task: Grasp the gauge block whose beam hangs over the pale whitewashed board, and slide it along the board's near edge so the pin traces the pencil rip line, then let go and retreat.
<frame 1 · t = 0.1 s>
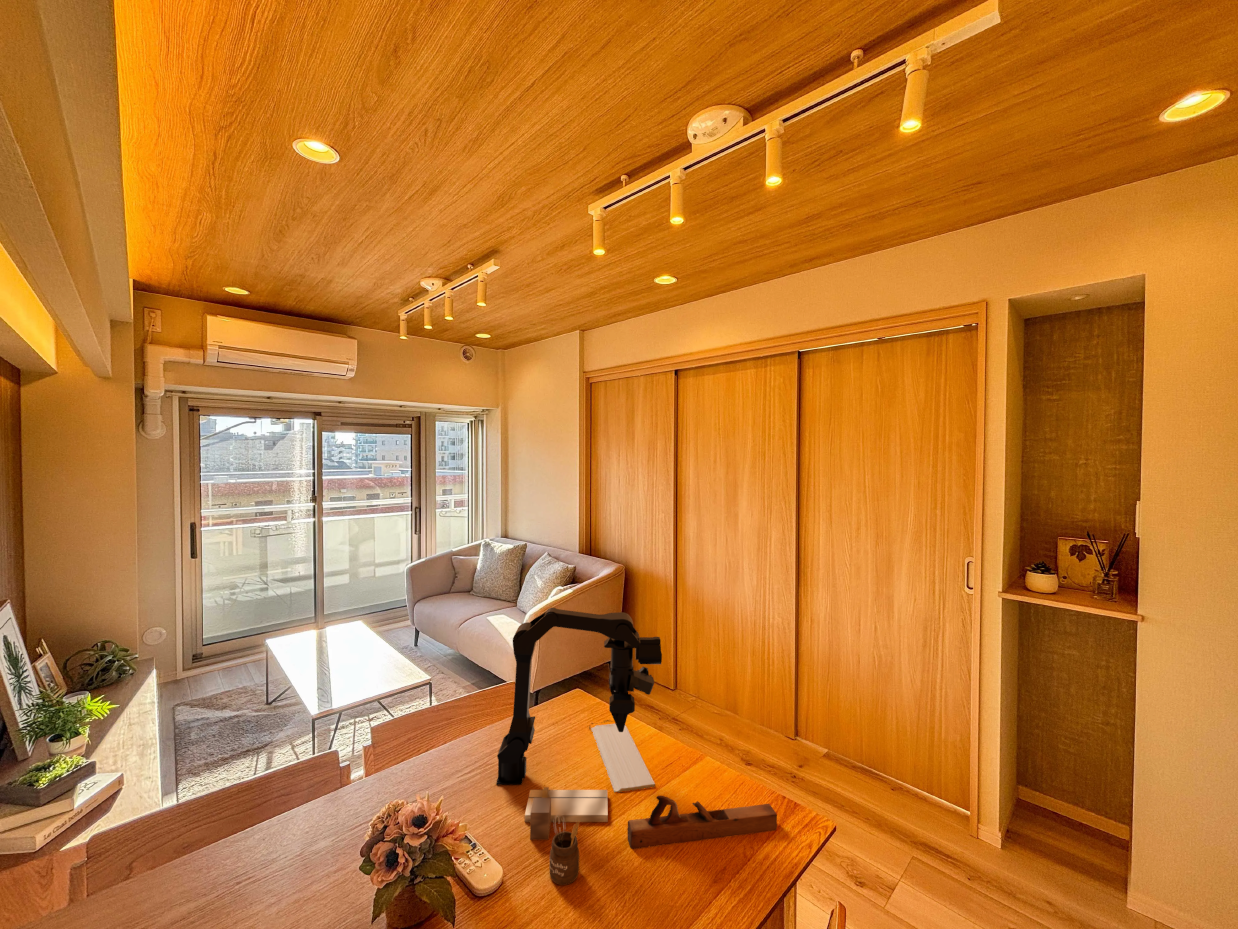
hand: (620, 722, 136), 15 cm above the table, fingers open, 9 cm apart
utensil holder: (564, 875, 105), on the table
baseboard molding: (617, 758, 147), on the table
board: (567, 808, 124), on the table
hand plane: (702, 836, 117), on the table
gauge: (540, 831, 117), on the table
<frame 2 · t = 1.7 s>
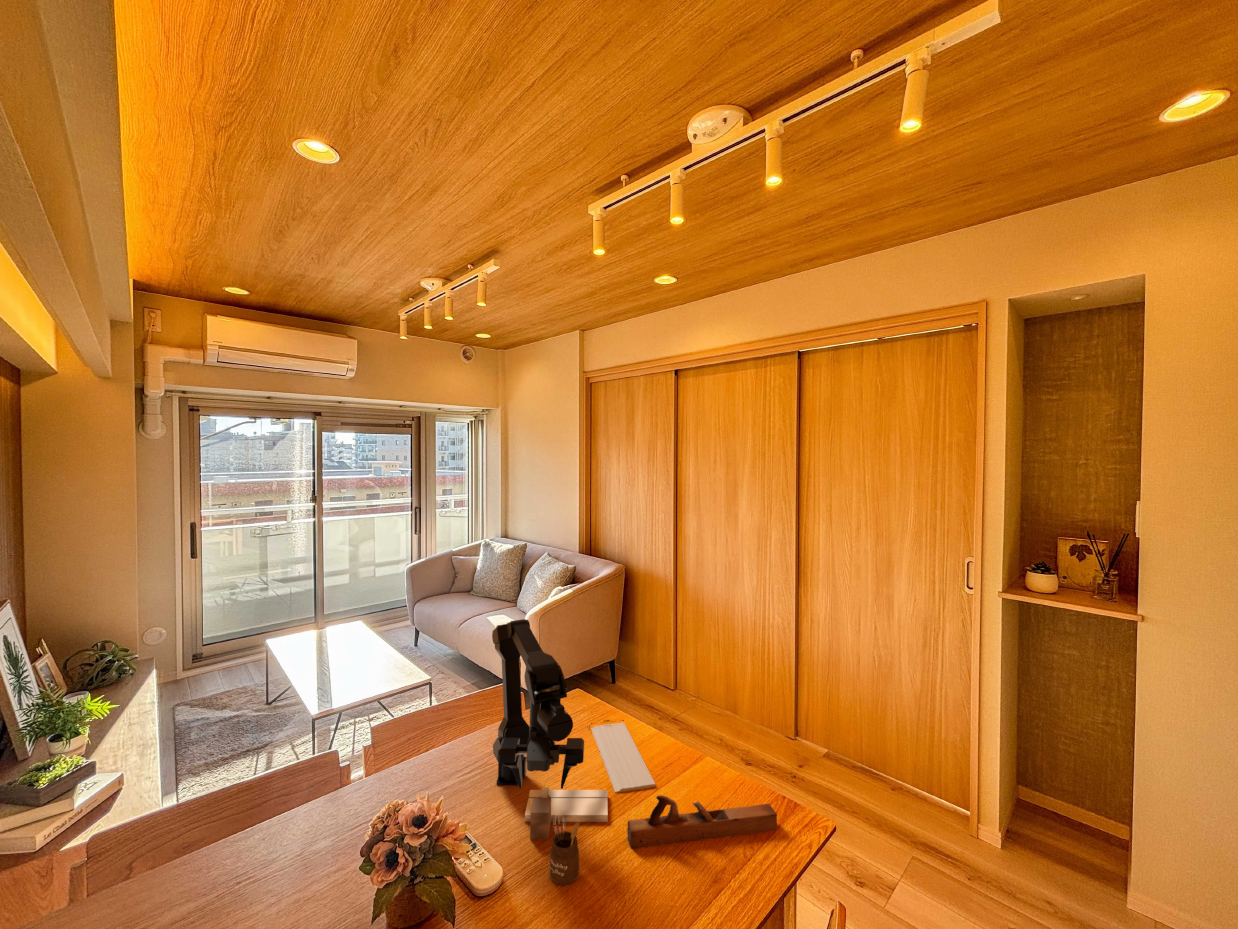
hand: (541, 787, 116), 10 cm above the table, fingers open, 9 cm apart
nothing on the table moved.
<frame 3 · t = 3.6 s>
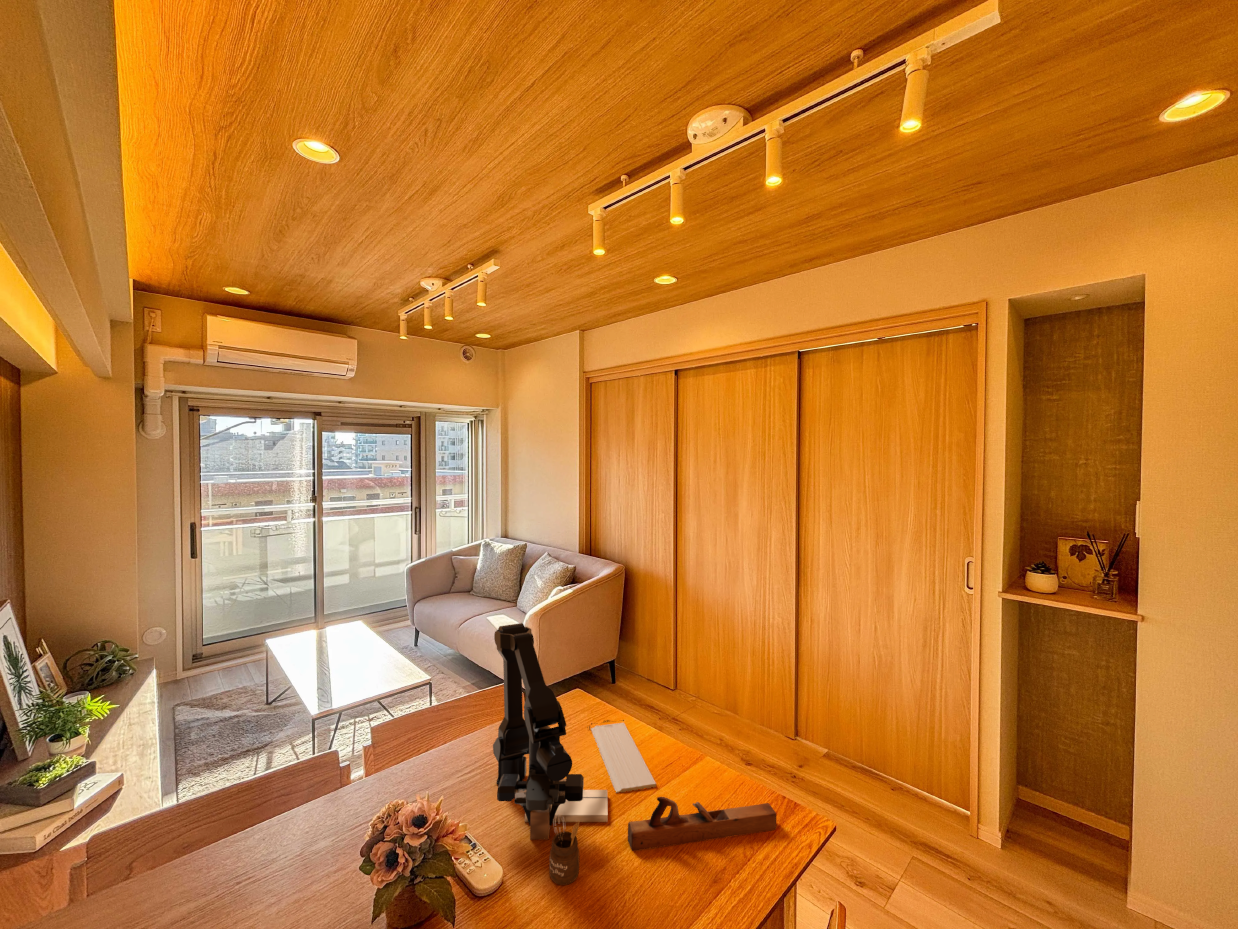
hand: (540, 824, 117), 2 cm above the table, fingers closed on gauge, 4 cm apart
gauge: (540, 831, 117), on the table, touching gripper
everything else where it was.
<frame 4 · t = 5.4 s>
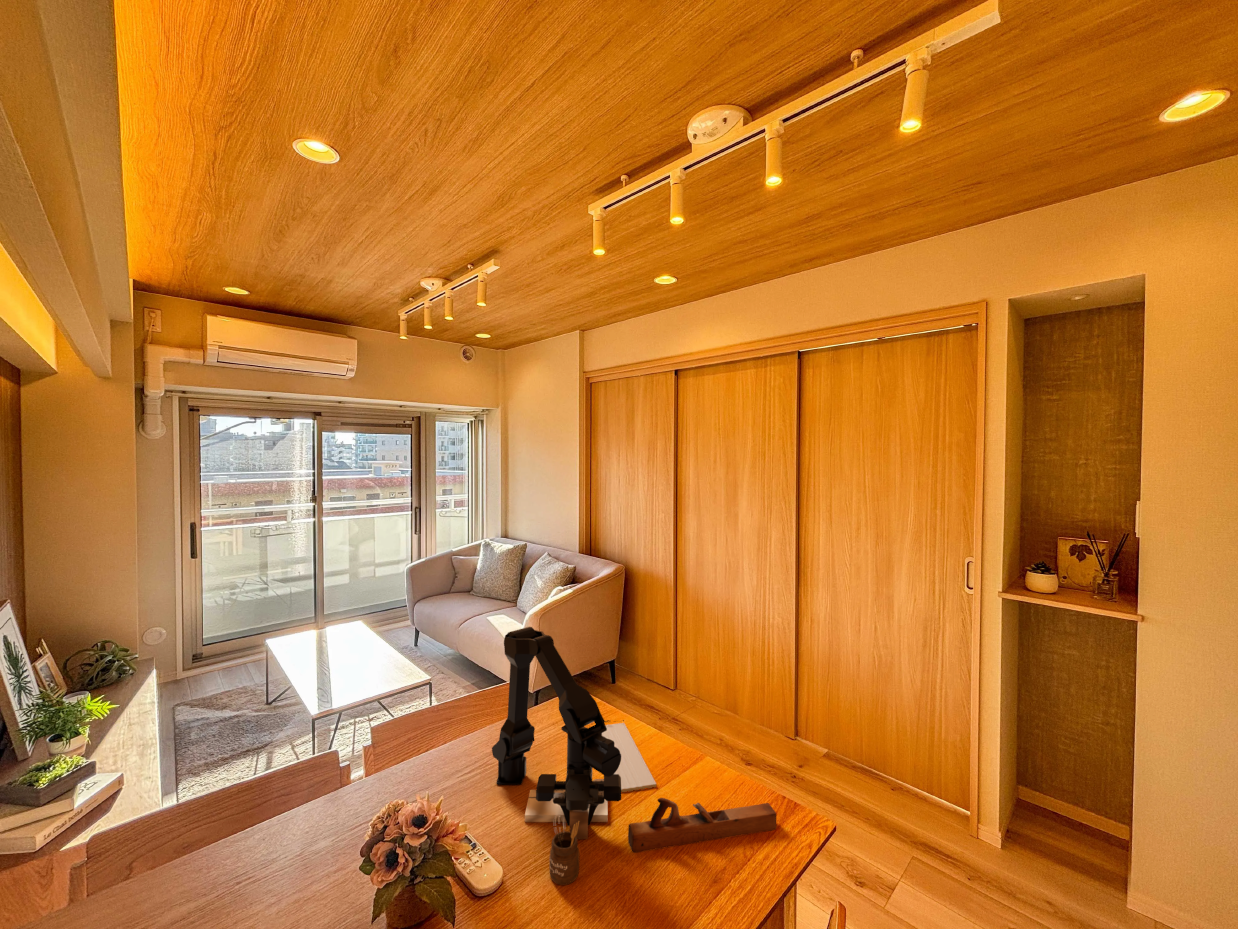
hand: (578, 824, 117), 2 cm above the table, fingers closed on gauge, 4 cm apart
gauge: (578, 831, 117), on the table, touching gripper
everything else where it was.
when the fingers open (2 cm above the table, at t = 7.3 s): gauge stays where it is, on the table.
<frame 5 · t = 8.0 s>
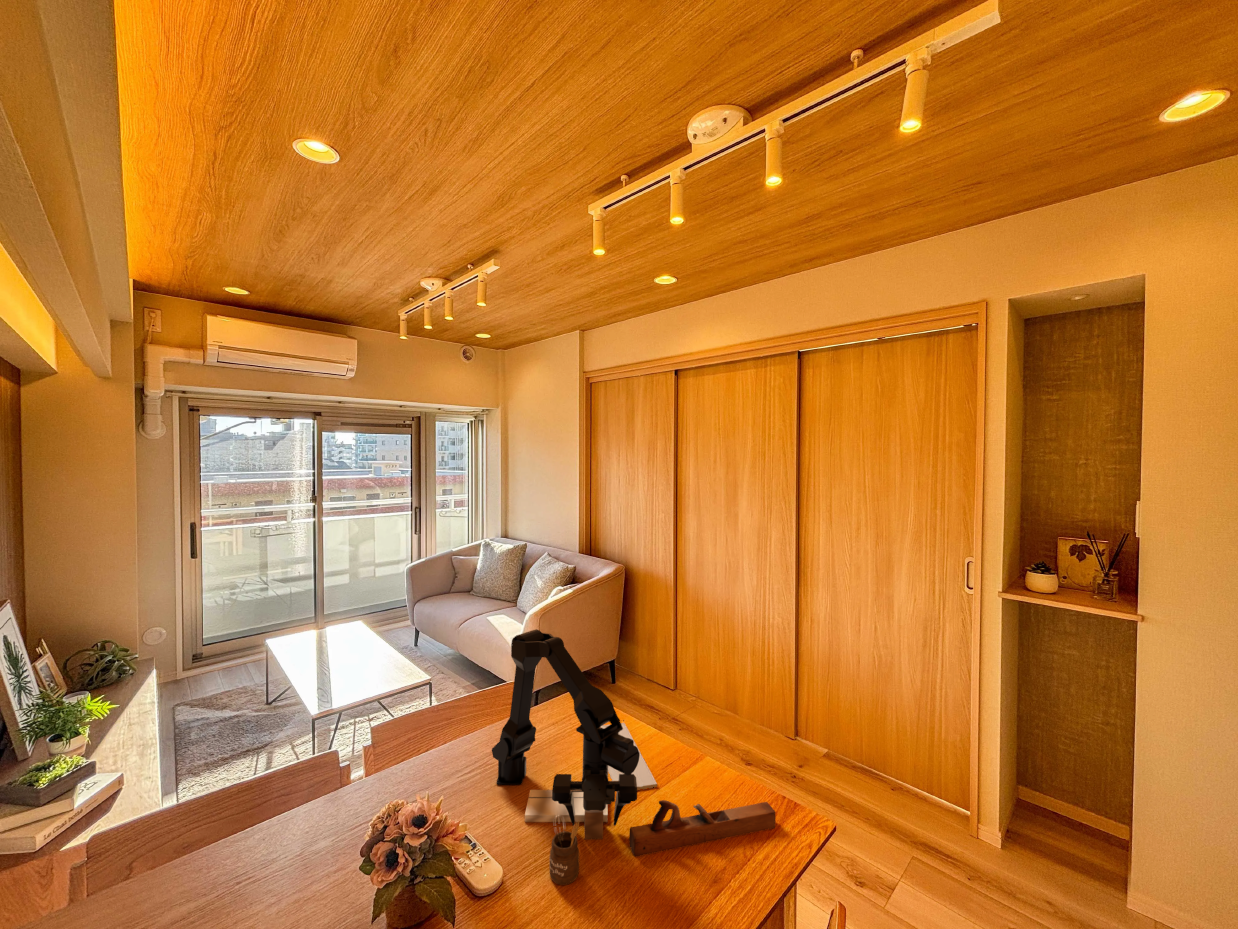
hand: (594, 824, 117), 2 cm above the table, fingers open, 9 cm apart
gauge: (593, 831, 117), on the table
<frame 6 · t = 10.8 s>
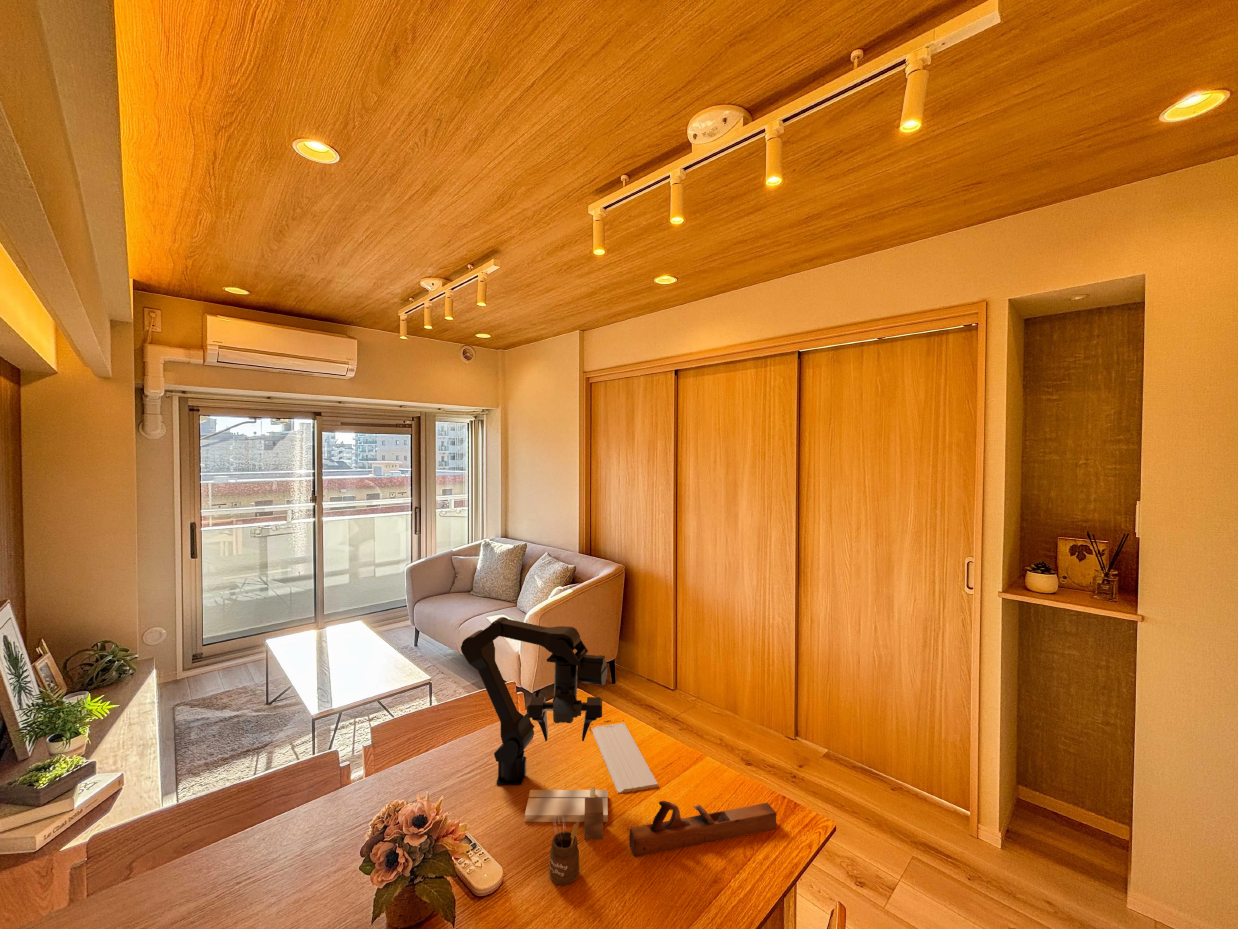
hand: (564, 740, 132), 12 cm above the table, fingers open, 9 cm apart
at the end: gauge 0.5 cm from the target spot, on the table; gauge tilted 0°; the gripper is holding nothing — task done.
